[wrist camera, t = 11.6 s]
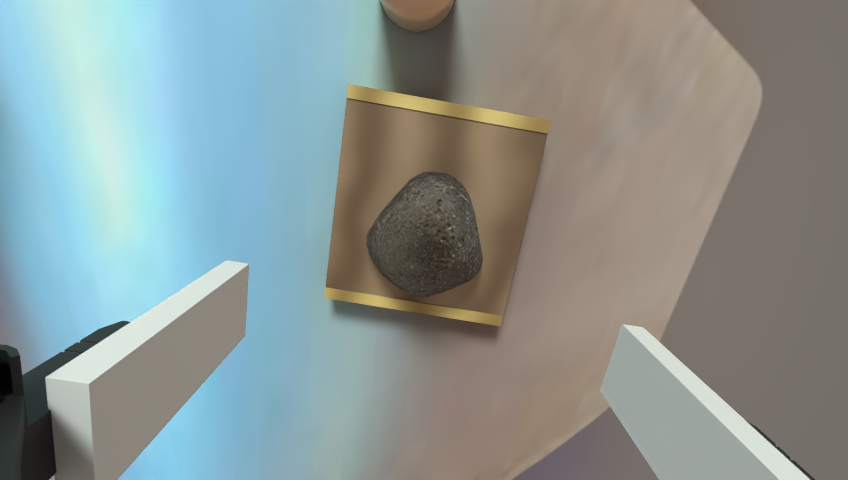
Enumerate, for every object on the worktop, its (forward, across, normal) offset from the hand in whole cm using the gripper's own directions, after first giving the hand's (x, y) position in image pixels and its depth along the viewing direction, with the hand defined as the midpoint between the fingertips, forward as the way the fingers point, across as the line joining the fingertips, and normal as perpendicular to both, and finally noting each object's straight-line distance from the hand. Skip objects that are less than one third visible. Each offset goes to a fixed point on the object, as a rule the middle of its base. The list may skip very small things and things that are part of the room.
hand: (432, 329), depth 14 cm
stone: (+20, 0, -1) cm, 20 cm away
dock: (+23, 0, 0) cm, 23 cm away
